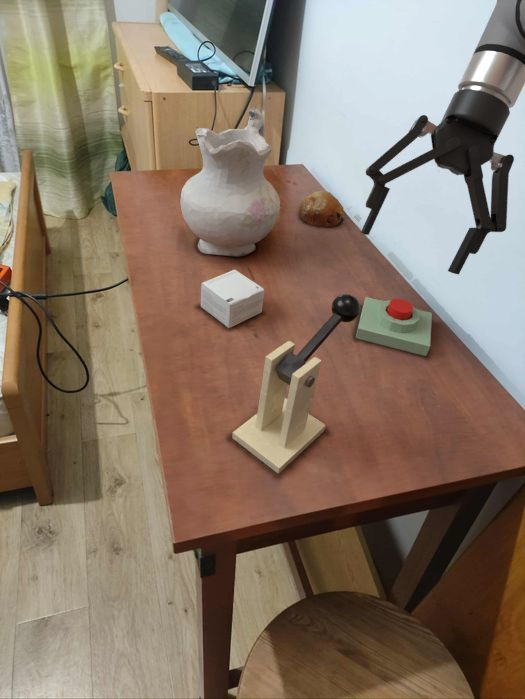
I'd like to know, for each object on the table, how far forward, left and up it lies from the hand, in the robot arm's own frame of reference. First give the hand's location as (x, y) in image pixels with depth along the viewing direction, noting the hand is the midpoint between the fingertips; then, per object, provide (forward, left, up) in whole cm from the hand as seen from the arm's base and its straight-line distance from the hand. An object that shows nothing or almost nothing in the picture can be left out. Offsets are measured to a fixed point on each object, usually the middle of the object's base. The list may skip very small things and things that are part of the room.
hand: (408, 253), depth 71 cm
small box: (+26, -2, -19) cm, 32 cm away
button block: (-2, -8, -19) cm, 21 cm away
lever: (+8, +16, -7) cm, 19 cm away
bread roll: (+18, -45, -19) cm, 52 cm away
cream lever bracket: (+11, +22, -19) cm, 31 cm away
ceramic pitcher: (+34, -25, -19) cm, 46 cm away
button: (-2, -8, -16) cm, 18 cm away
